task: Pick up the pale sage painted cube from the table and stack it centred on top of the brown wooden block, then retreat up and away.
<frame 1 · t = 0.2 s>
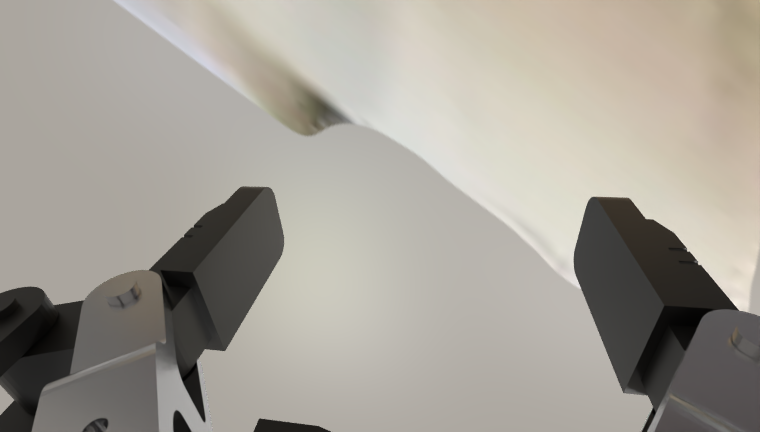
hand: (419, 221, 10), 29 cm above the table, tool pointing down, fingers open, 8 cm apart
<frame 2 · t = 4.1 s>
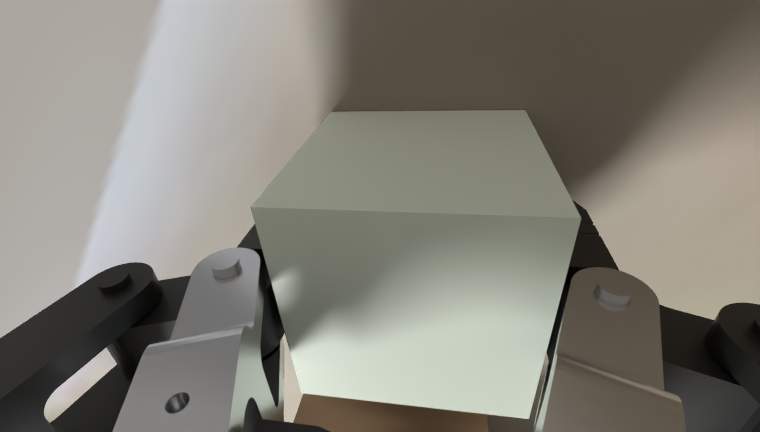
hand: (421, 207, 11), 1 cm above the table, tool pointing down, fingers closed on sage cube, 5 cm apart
sage cube: (423, 195, 11), on the table, touching gripper
when the fingers open (6 cm above the table, at t = 9.2 s): sage cube drops 1 cm, resting on brown wooden block.
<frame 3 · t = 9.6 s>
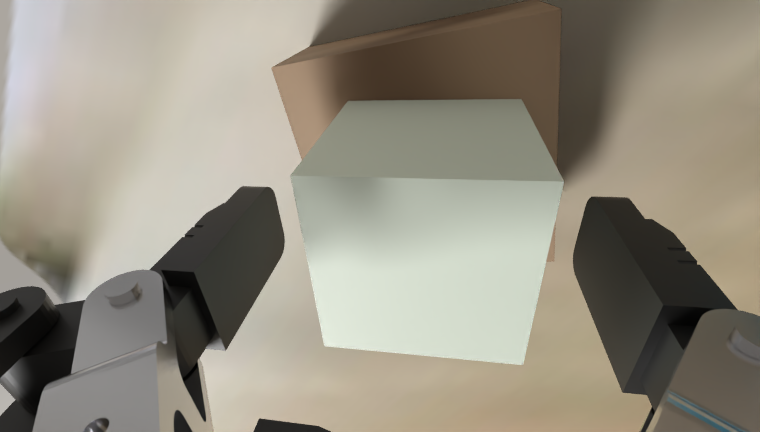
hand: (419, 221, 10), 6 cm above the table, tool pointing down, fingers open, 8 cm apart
brown wooden block: (430, 129, 16), on the table, touching sage cube
sage cube: (430, 176, 13), point 4 cm above the table, touching brown wooden block
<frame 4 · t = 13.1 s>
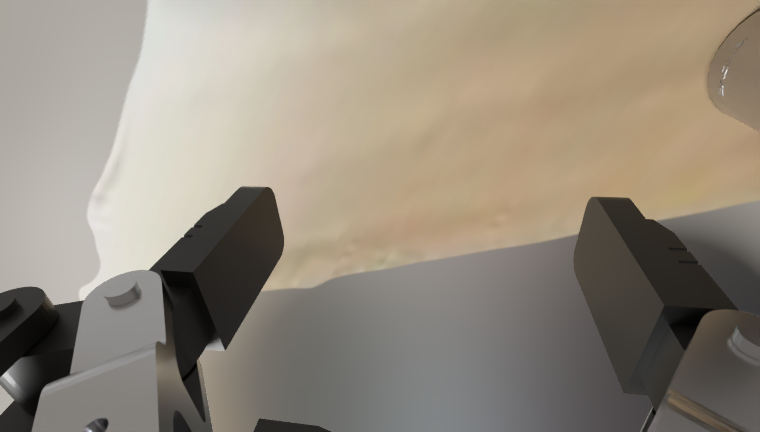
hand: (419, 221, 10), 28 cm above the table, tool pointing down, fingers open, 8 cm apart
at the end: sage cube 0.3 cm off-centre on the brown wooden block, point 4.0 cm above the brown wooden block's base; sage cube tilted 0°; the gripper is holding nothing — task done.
